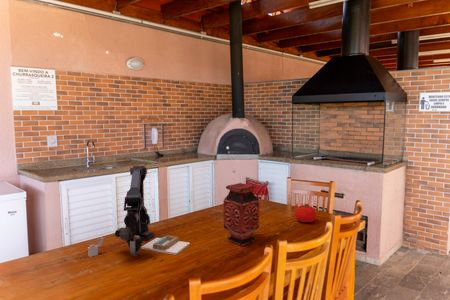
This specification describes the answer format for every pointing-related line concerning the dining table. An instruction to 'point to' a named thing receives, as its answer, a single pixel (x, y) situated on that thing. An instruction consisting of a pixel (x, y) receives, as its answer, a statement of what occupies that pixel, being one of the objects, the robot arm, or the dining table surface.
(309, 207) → the tomato
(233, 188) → the vase
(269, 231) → the dining table surface
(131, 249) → the grey block
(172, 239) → the seat board
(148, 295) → the dining table surface
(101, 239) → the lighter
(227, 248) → the dining table surface
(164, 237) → the bar
